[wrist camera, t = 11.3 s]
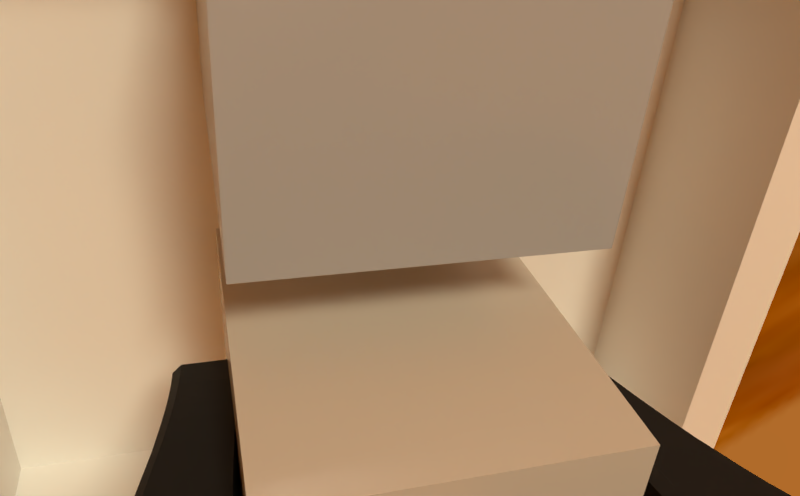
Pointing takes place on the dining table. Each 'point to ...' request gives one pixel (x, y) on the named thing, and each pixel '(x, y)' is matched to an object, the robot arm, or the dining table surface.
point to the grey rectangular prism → (420, 128)
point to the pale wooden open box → (198, 219)
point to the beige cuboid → (422, 388)
